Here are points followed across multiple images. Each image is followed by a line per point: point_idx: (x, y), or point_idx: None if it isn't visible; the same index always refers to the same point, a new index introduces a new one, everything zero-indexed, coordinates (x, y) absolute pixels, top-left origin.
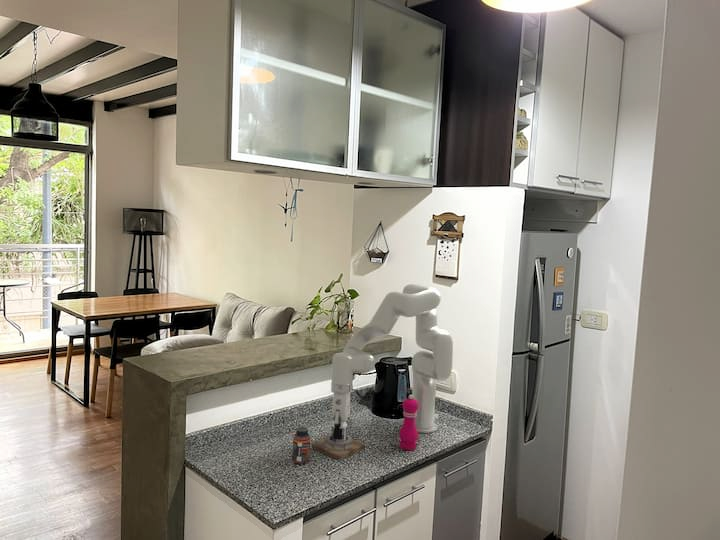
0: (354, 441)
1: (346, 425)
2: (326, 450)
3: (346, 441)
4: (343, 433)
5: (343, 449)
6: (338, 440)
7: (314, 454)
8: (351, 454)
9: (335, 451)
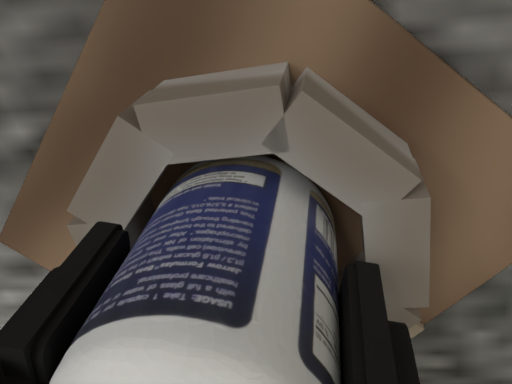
0: (123, 41)
1: (207, 356)
2: (430, 318)
3: (334, 172)
4: (313, 290)
5: (417, 167)
6: (337, 274)
7: (424, 364)
8: (426, 46)
9: (463, 245)
